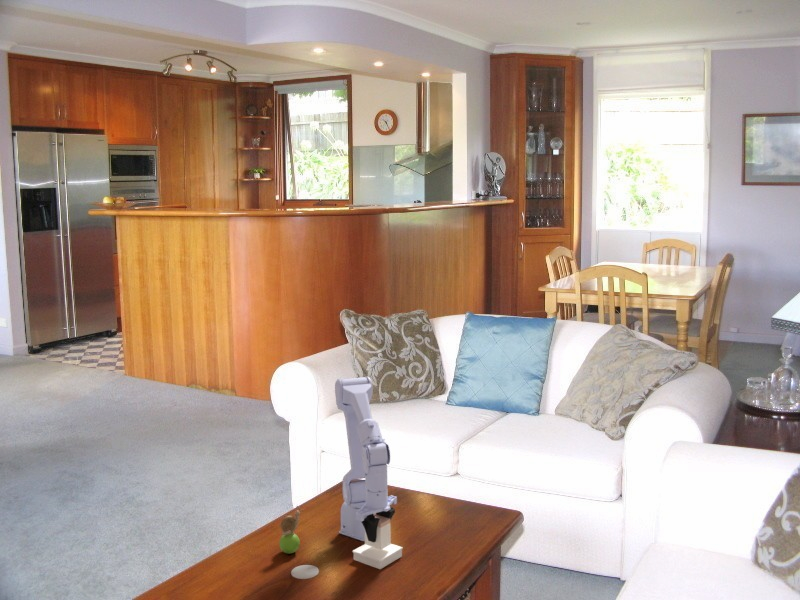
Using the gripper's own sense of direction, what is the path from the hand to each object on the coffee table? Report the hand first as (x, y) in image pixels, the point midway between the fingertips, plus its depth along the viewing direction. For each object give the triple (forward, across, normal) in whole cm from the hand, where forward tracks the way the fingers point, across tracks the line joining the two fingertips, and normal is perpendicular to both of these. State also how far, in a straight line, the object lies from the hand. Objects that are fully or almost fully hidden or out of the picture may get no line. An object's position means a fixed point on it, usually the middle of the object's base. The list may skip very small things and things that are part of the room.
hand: (377, 537), depth 218 cm
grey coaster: (+6, -17, +10) cm, 21 cm away
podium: (+6, 0, 0) cm, 6 cm away
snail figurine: (+6, -11, +21) cm, 24 cm away
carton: (+2, 0, 0) cm, 2 cm away
